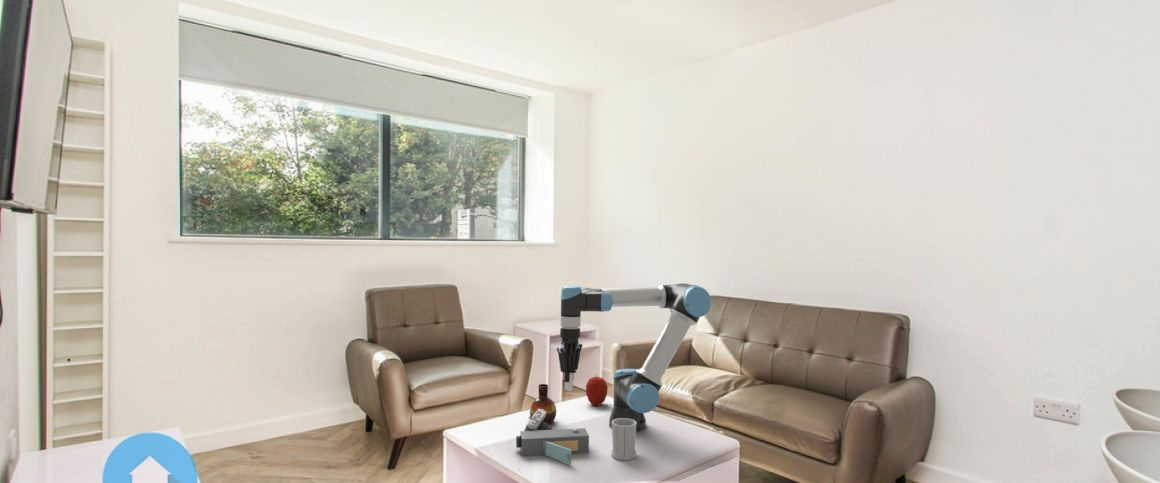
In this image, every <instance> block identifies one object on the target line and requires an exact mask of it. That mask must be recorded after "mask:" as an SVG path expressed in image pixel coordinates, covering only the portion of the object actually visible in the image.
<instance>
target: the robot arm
mask: <svg viewBox="0 0 1160 483" xmlns="http://www.w3.org/2000/svg"><path fill="white" fill-rule="evenodd" d="M613 307H614V308H616V307H617V308H618V307H619V308H621V307H659V308H660V309H669V312H670V317H669V318H668V320H667V321H666V324H665V325H664V327H663V329H662V331H661V333H660V334H659V336H658V338H657V340H655V343H654V344H653V347H652V349H651V350H650V352H649V354H648V356H647V357H646V359H645V361H644V363H643V365H642V366H641V367H640V368H620V369H616V370H615V371H614V372H613V407H612V409H611V413H610V416H609V420H608V423H609V424H608V426H609V427H610V428H611V429H612V421H613V420H614V419H618V418H628V419H632V420H634V421H636V422H637V425H636V432H639V431H641V430H644V429H646V427H647V420H646V417H645V414H646V413H650V412H651V411H653V410H654V409H655V408H656V407H657V406H658V404H659V402H660V394H659V392H660V390H661V388H662V386H663V384H662V379H663V376H664V374H665V373H666V371H667V369H668V367H669V365H670V363H671V362H672V360H673V358H674V357H675V354H676V353H677V352H678V349H679V348H680V346H681V343H682V342H683V341H684V338H685V337H686V335H687V333H688V331H689V329H690V327H691V326H694V325H697V324H698V321H699V320H700V318H701V317H704V316H706V315H707V314H708V313H709V311H710V310H711V307H712V299H711V295H710V293H709V292H708V290H706V289H705V288H704V287H701V286H700V285H696V284H688V283H673V284H660V285H659V286H658V287H624V288H623V287H616V288H615V287H613V288H611V287H610V288H606V287H605V288H590V287H583V288H582V287H581V286H579V285H578V286H576V285H565V286H563V287H561V295H560V326H561V327H560V329H559V332H560V334H559V337H560V338H561V339H562V340H561V343H560V346H559V347H556V351H557V353H558V362H559V368H560V372H561V373H563V374H564V376H563V377H564V379H563V380H564V390H565V391H567V392H571V391H572V392H573V390H574V377H575V376H574V374H576V373H577V371H578V369H579V362H580V356H581V351H582V349H583V344H582V343H579V339H580V338H581V328H580V327H581V324H582V323H581V322H582V319H581V316H582V312H599V313H601V312H602V313H603V312H610V311H611V310H612V308H613Z"/></svg>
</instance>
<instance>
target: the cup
mask: <svg viewBox="0 0 1160 483" xmlns="http://www.w3.org/2000/svg"><path fill="white" fill-rule="evenodd" d="M636 425H637V422H636V421H634V420H632V419H628V418H618V419H614V420H613V421H612V428H611V431H612V433H611V435H612V449H611V452H610V453H611V457H613V458H614V459H616V460H619V461H631V460H633V459H635V458H636V457H637V451H636V436H637V431H636Z"/></svg>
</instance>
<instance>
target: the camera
mask: <svg viewBox="0 0 1160 483" xmlns="http://www.w3.org/2000/svg"><path fill="white" fill-rule="evenodd" d="M546 413H547V412H546V411H544V410H543V409H538V410H537V411H536V413H535V414H534V415H533V416H532V417H531V416H530V415H529V417H528V420H529V421H527V423H526V425H525V428H524V430H523V431H536V430H553V428H552V427H553V426H552V425H551V424H548V423H545V422H544V421H543V420H544V418H545V416H546Z"/></svg>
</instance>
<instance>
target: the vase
mask: <svg viewBox="0 0 1160 483" xmlns="http://www.w3.org/2000/svg"><path fill="white" fill-rule="evenodd" d="M548 393H549V384H547V383H540V384H538V397H536V398H535V399H533V401H532V402H531V405H530V407H529V417H530V416H531V417H532V416H533V415H534V414H535V413H536V411H537V410H538V409H543V410H544V411H546V412H547V413H546V416H545V418H544V420H543V421H544V422H545V423H548V424H549V425H551V424H553V422H554V421H555V419H556V417H557V405H556V403H555V402H554V400H552V398H550V397H549V394H548Z"/></svg>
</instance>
